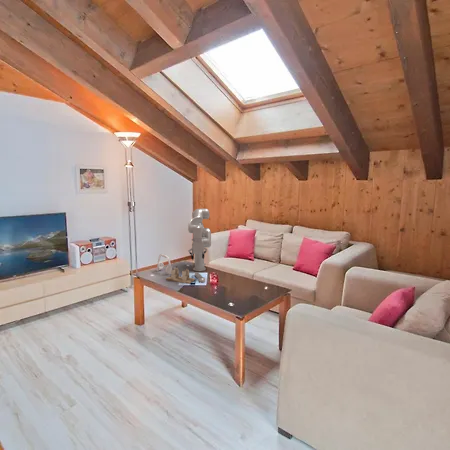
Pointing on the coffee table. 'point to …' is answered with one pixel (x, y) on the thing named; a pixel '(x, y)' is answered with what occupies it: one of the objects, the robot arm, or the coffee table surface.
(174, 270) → the rack
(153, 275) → the coffee table surface
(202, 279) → the spanner
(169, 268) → the headset
